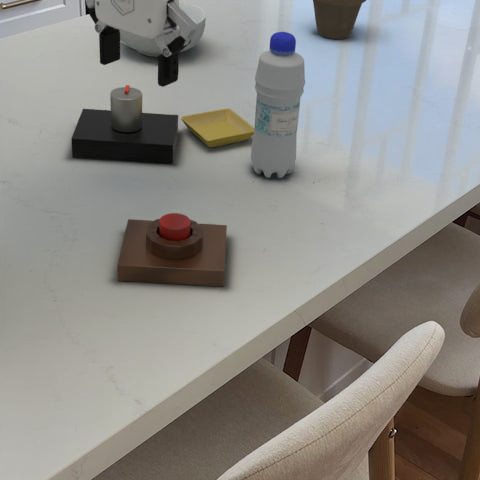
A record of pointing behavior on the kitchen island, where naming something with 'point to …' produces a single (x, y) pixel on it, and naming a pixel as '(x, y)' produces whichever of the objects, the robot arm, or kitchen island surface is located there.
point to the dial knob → (126, 109)
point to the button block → (173, 255)
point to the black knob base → (125, 138)
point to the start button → (174, 227)
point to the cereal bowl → (151, 46)
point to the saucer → (218, 127)
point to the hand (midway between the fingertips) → (138, 72)
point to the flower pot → (336, 17)
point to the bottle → (277, 106)
